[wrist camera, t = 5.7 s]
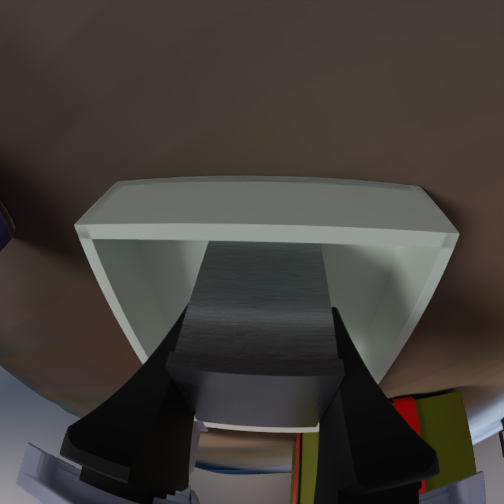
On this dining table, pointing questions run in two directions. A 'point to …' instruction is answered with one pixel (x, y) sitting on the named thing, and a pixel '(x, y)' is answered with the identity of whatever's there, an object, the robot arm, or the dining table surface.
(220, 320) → the tin
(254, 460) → the dining table surface
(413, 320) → the tote
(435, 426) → the gift box
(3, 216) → the flask
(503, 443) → the french press
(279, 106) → the dining table surface
